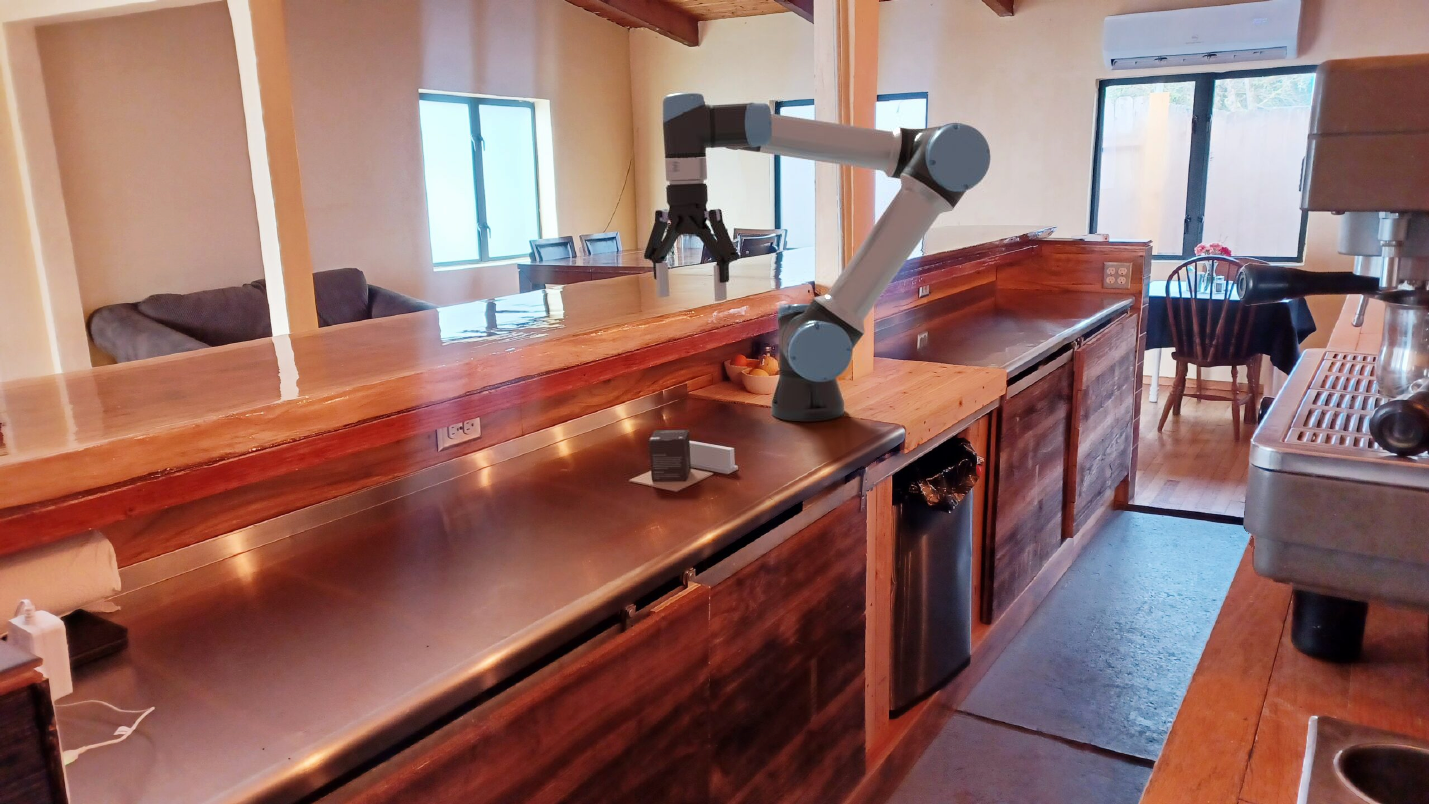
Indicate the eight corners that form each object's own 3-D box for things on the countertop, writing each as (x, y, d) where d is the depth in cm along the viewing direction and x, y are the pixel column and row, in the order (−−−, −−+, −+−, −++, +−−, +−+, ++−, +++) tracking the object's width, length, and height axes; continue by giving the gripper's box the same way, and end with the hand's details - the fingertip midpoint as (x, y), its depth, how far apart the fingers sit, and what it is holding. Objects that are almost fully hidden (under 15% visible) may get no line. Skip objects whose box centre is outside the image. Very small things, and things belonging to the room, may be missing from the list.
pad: (667, 465, 166) (667, 464, 165) (713, 474, 160) (712, 472, 160) (629, 481, 158) (629, 479, 158) (676, 491, 152) (676, 489, 152)
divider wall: (678, 458, 170) (677, 436, 169) (737, 469, 162) (737, 446, 161) (668, 462, 167) (666, 440, 166) (727, 474, 160) (726, 451, 159)
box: (691, 470, 161) (690, 429, 160) (687, 482, 155) (685, 439, 154) (656, 470, 162) (654, 429, 160) (650, 482, 156) (648, 439, 154)
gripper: (621, 184, 177) (628, 297, 182) (730, 181, 162) (734, 304, 167) (647, 183, 182) (653, 293, 187) (754, 180, 168) (757, 299, 173)
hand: (691, 298), depth 177 cm, fingers open, 13 cm apart
